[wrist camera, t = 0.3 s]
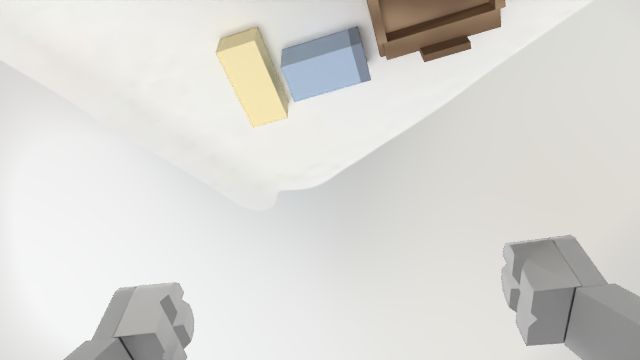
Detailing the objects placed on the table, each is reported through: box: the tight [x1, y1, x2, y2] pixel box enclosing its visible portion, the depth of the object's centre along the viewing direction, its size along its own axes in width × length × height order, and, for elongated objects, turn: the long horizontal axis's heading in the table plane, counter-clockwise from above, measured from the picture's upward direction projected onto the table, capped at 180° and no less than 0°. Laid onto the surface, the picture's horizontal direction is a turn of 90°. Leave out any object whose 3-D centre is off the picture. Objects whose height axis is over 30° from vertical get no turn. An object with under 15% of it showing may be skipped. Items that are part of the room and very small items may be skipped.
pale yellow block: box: [216, 27, 288, 128], centre depth 48 cm, size 9×4×4 cm, turn 18°
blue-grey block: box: [281, 27, 371, 102], centre depth 47 cm, size 4×8×4 cm, turn 107°
